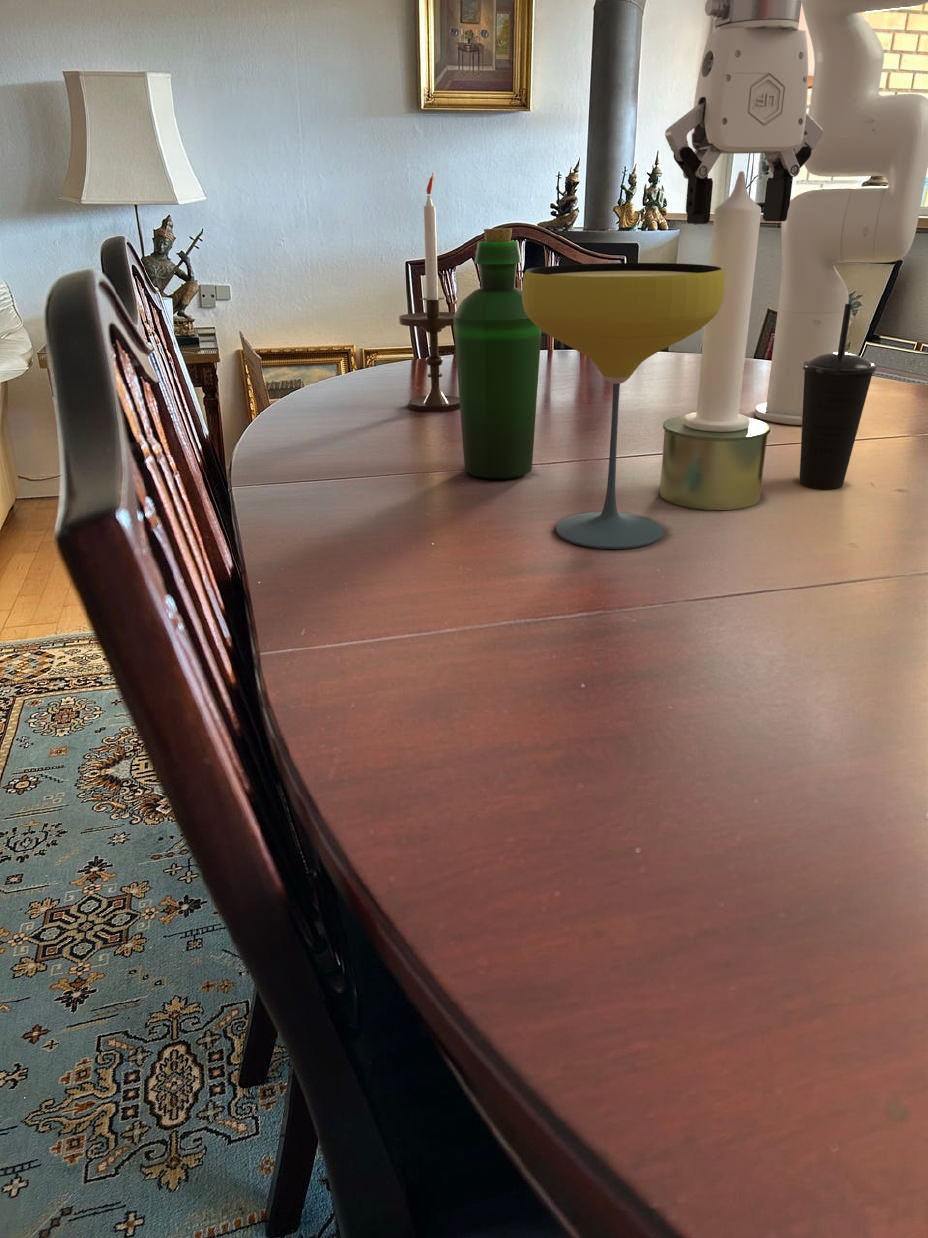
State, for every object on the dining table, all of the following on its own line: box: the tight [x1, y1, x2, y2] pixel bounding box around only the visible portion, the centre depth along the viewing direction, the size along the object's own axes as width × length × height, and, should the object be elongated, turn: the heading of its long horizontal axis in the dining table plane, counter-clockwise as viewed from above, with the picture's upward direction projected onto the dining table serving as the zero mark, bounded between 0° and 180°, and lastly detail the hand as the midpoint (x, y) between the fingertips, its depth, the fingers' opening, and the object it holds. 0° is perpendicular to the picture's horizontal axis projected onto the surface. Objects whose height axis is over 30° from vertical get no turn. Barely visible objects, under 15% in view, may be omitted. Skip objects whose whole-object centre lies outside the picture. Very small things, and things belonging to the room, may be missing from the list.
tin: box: [659, 414, 771, 511], centre depth 100 cm, size 11×11×8 cm
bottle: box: [453, 227, 542, 481], centre depth 106 cm, size 11×11×28 cm
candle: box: [684, 170, 762, 432], centre depth 93 cm, size 7×7×25 cm
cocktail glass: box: [521, 262, 724, 550], centre depth 86 cm, size 18×18×25 cm
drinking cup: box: [798, 303, 877, 490], centre depth 101 cm, size 8×8×20 cm
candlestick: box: [398, 172, 460, 413], centre depth 142 cm, size 11×11×35 cm
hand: (736, 221), depth 90 cm, fingers open, 8 cm apart
